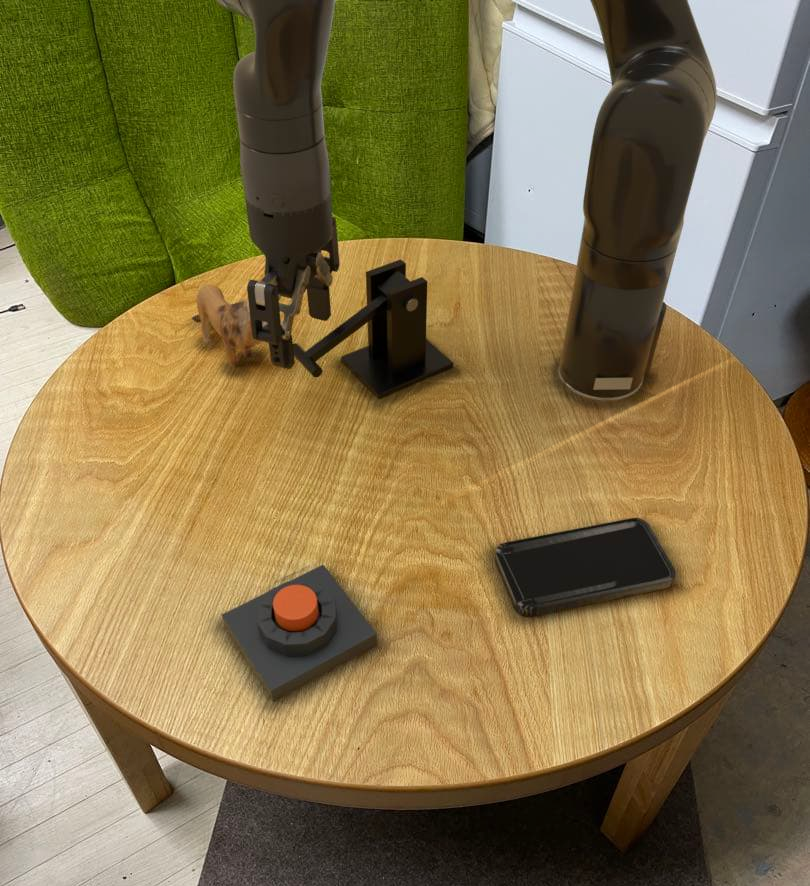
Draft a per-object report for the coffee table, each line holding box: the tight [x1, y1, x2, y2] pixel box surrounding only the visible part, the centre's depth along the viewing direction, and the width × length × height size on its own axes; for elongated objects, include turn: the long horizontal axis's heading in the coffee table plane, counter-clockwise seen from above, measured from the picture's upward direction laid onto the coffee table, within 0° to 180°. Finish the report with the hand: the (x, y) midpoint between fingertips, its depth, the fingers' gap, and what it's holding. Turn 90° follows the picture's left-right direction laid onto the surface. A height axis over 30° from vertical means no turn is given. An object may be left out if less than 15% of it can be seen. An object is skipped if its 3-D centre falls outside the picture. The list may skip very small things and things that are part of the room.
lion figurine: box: [191, 284, 264, 368], centre depth 97 cm, size 15×5×9 cm, turn 45°
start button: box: [273, 585, 319, 632], centre depth 71 cm, size 4×4×2 cm
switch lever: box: [293, 271, 411, 379], centre depth 90 cm, size 14×5×2 cm, turn 123°
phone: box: [494, 517, 677, 618], centre depth 79 cm, size 8×1×15 cm
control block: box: [221, 564, 378, 703], centre depth 73 cm, size 10×9×4 cm
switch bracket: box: [340, 259, 454, 400], centre depth 94 cm, size 10×8×12 cm
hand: (302, 341), depth 88 cm, fingers open, 8 cm apart
